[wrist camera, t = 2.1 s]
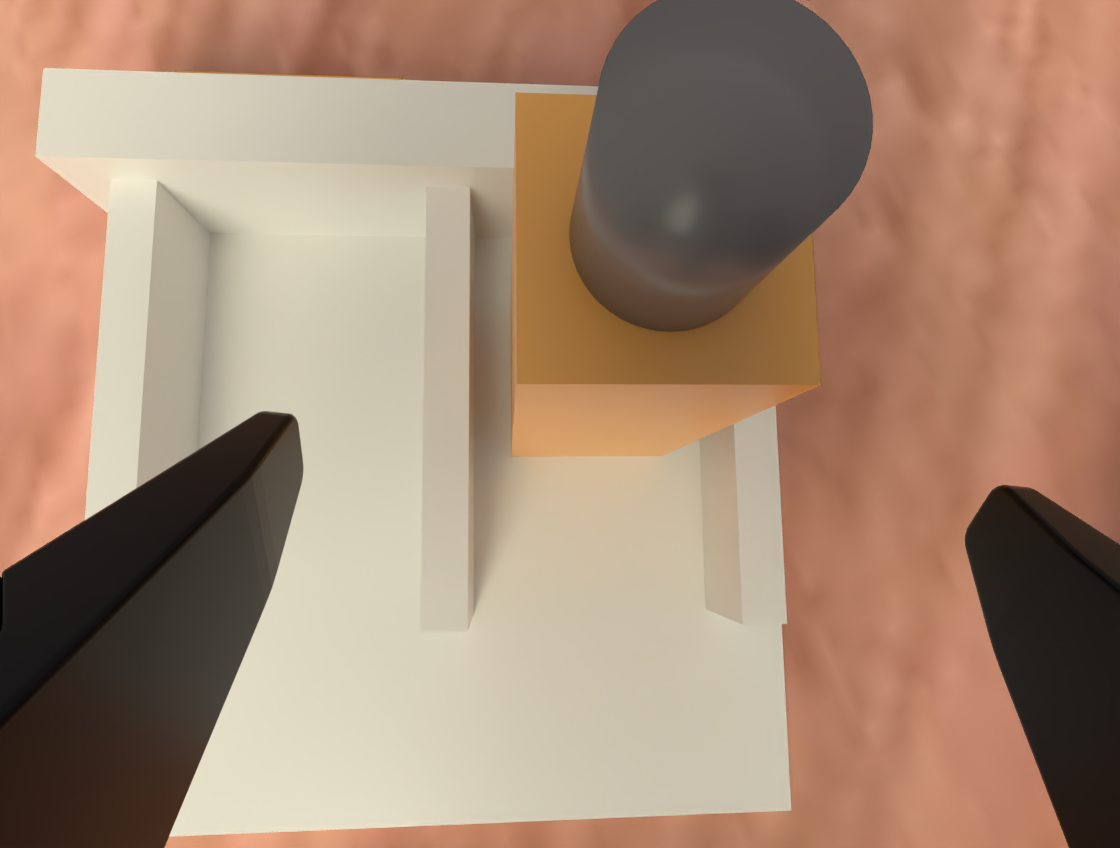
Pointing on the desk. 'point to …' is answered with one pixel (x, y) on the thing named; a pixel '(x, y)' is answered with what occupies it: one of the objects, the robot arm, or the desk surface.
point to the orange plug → (678, 227)
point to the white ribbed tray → (414, 471)
